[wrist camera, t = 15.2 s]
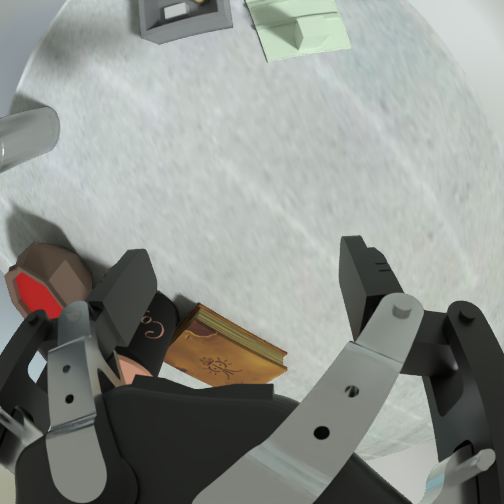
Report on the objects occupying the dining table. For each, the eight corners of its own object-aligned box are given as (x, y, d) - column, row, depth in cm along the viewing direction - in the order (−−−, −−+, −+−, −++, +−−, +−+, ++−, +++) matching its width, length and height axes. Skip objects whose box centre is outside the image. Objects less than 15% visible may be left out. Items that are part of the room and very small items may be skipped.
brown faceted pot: (24, 227, 48) (-19, 264, 34) (92, 224, 46) (40, 272, 32) (57, 305, 60) (27, 346, 46) (124, 317, 58) (95, 370, 44)
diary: (164, 342, 62) (156, 359, 57) (200, 300, 53) (193, 320, 49) (240, 381, 68) (237, 399, 63) (287, 351, 59) (287, 371, 54)
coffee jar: (182, 298, 53) (153, 371, 37) (178, 331, 58) (154, 398, 43) (134, 283, 52) (94, 348, 37) (135, 317, 58) (104, 379, 42)
